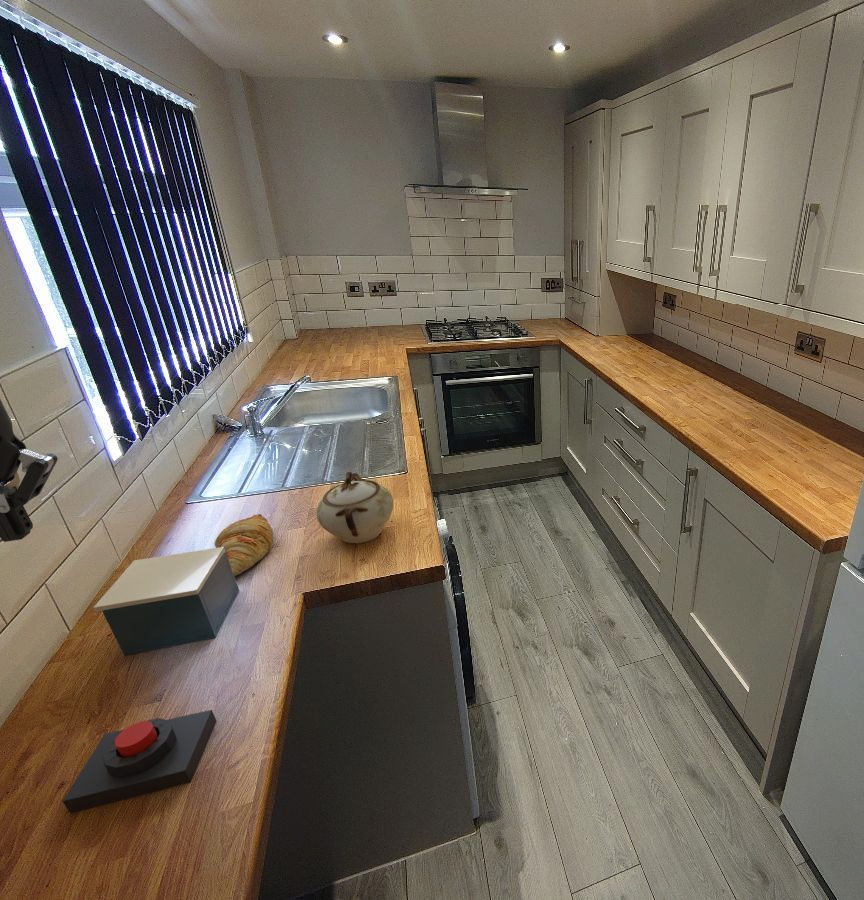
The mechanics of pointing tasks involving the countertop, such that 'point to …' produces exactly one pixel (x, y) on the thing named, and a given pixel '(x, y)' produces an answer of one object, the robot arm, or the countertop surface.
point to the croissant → (246, 542)
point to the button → (136, 738)
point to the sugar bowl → (355, 509)
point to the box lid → (161, 578)
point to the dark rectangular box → (176, 615)
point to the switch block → (142, 763)
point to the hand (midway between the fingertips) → (18, 537)
